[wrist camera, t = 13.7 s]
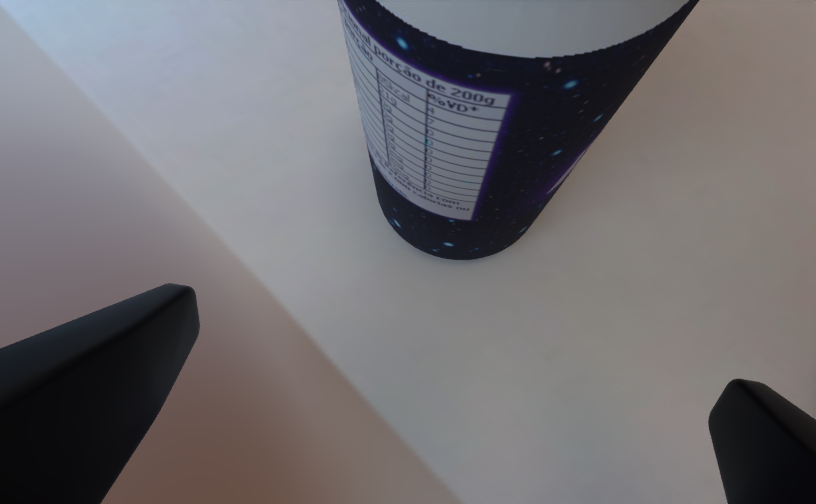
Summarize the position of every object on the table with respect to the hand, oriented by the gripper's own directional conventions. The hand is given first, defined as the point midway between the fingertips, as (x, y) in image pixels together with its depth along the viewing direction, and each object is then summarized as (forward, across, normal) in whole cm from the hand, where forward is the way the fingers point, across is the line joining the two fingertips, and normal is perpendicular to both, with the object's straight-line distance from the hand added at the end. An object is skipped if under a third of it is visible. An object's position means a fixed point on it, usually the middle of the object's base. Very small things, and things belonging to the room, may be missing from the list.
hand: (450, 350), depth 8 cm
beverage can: (+10, 0, +1) cm, 10 cm away
